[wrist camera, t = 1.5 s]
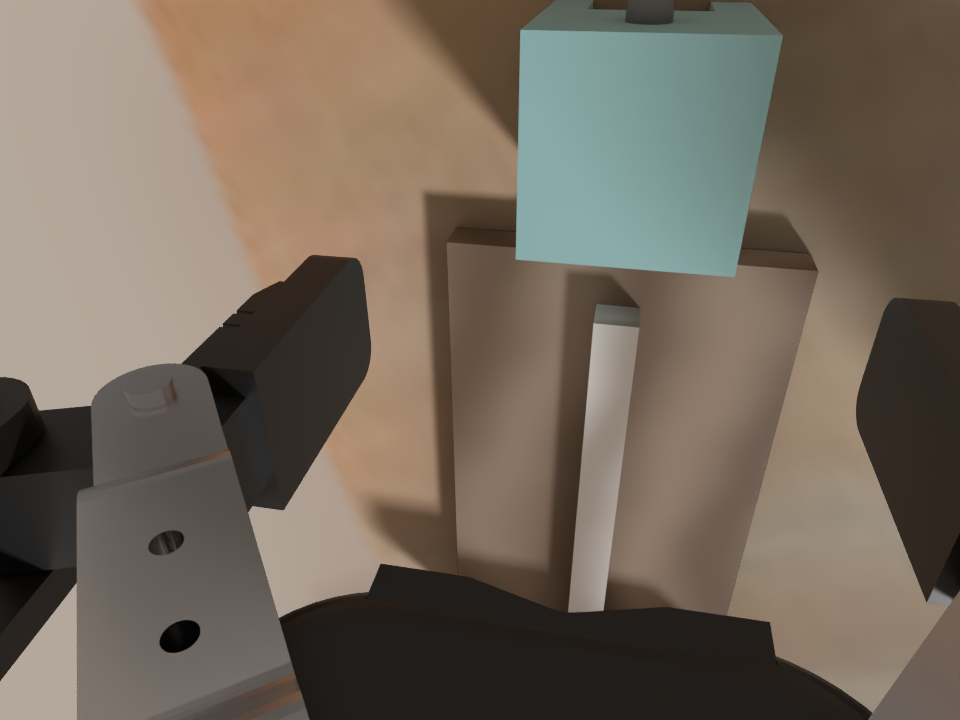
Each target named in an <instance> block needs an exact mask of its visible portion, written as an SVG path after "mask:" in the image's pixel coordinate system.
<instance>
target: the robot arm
mask: <svg viewBox="0 0 960 720" xmlns="http://www.w3.org/2000/svg"><path fill="white" fill-rule="evenodd" d="M370 356H371V339H370V330H369V321H368V312H367V303H366V294H365V285H364V276H363V270H362V266H361V264H360V262H359V260H358V259H356V258H348V257H334V256H320V255H311V256H309V257H308V258H307V259H306V260H305V261H304V262H303V263H302V264H301V265H300V266H299V267H298V268H297V269H296V270H295V271H294V272H293V273H292V274H291V275H290V276H289V277H288V278H287V279H286V280H285V281H284V282H282V281H279V282H277V283H275V284H273V285H271V286H269V287H267V288H265V289H263V290H261V291H259V292H257V293H255V294H254V295H252V296H251V297H250V298H249V299H248V300H247V301H246V302H245V303H244V304H243V305H242V306H241V307H240V308H239V309H238V310H237V314H233V315H231V316H230V317H229V318H228V320H226V321H225V322H224V323H223V327H219V328H218V329H217V330H216V331H215V332H214V333H213V334H212V335H211V336H210V337H209V338H208V339H207V340H206V341H205V342H203V344H202V345H200V346H199V347H198V348H197V349H196V350H195V351H194V352H193V353H192V354H191V355H190V356H189V357H188V358H187V359H186V360H185V361H184V362H183V363H182V364H160V365H152V366H147V367H143V368H140V369H136V370H134V371H131V372H128V373H126V374H124V375H121V376H119V377H117V378H116V379H114V380H112V381H110V382H109V383H108V384H106V385H105V386H104V387H102V388H101V389H100V390H99V391H98V393H97V394H96V395H95V396H94V399H93V401H92V405H91V406H85V407H75V408H64V409H53V410H43V411H39V410H38V408H37V405H36V403H35V400H34V398H33V396H32V393H31V391H30V389H29V386H28V385H27V384H26V383H24V382H22V381H21V380H17V379H14V378H7V377H0V681H1V679H2V678H3V677H4V675H5V674H6V673H7V671H8V670H9V669H10V668H11V666H12V665H13V664H14V663H15V661H16V660H17V659H18V657H19V656H20V655H21V654H22V652H23V651H24V650H25V648H26V647H27V646H28V645H29V643H30V642H31V641H32V639H33V638H34V636H36V634H37V633H38V632H39V630H40V629H41V628H42V627H43V625H44V624H45V623H46V621H47V620H48V619H49V618H50V616H51V615H52V614H53V612H54V611H55V610H56V609H57V607H58V606H59V605H60V603H61V602H62V601H63V600H64V598H65V597H66V596H67V594H68V593H69V592H70V591H71V589H72V588H73V587H74V585H75V584H76V583H77V720H960V307H959V306H958V305H957V304H956V303H954V302H947V301H933V300H919V299H905V298H894V299H892V300H891V301H890V302H889V304H888V305H887V307H886V309H885V311H884V313H883V316H882V319H881V322H880V325H879V328H878V331H877V335H876V338H875V341H874V344H873V347H872V350H871V353H870V356H869V360H868V363H867V366H866V369H865V372H864V375H863V378H862V381H861V385H860V388H859V392H858V396H857V404H856V420H857V426H858V430H859V433H860V436H861V438H862V441H863V443H864V446H865V448H866V451H867V453H868V456H869V458H870V461H871V463H872V466H873V468H874V471H875V473H876V476H877V478H878V481H879V484H880V486H881V489H882V491H883V494H884V496H885V499H886V501H887V504H888V506H889V509H890V511H891V514H892V516H893V519H894V521H895V524H896V526H897V529H898V532H899V534H900V537H901V539H902V542H903V544H904V547H905V549H906V552H907V554H908V557H909V559H910V562H911V564H912V567H913V569H914V572H915V574H916V577H917V579H918V582H919V585H920V587H921V590H922V592H923V595H924V597H925V600H926V602H927V603H932V604H939V605H946V606H948V608H947V609H946V611H945V612H944V613H943V615H942V616H941V618H940V619H939V621H938V622H937V623H936V625H935V626H934V628H933V629H932V630H931V632H930V633H929V635H928V636H927V637H926V639H925V640H924V642H923V643H922V644H921V646H920V647H919V649H918V650H917V651H916V653H915V654H914V656H913V657H912V659H911V660H910V661H909V663H908V664H907V666H906V667H905V668H904V670H903V671H902V673H901V674H900V675H899V677H898V678H897V680H896V681H895V682H894V684H893V685H892V687H891V688H890V690H889V691H888V692H887V694H886V695H885V697H884V698H883V699H882V701H881V702H880V704H879V705H878V706H877V708H876V709H875V711H874V712H873V713H872V712H871V711H869V710H868V709H867V708H866V707H865V706H863V705H862V704H860V703H859V702H858V701H856V700H855V699H853V698H852V697H851V696H849V695H848V694H846V693H845V692H844V691H842V690H841V689H839V688H838V687H836V686H834V685H833V684H831V683H829V682H828V681H826V680H824V679H822V678H821V677H819V676H817V675H816V674H814V673H812V672H810V671H808V670H806V669H804V668H801V667H799V666H797V665H795V664H793V663H791V662H789V661H786V660H784V659H781V658H779V657H776V656H775V650H774V644H773V638H772V632H771V626H770V622H765V621H758V620H751V619H745V618H738V617H731V616H725V615H718V614H712V613H705V612H698V611H692V610H685V609H678V608H672V607H656V608H640V609H623V610H607V611H590V612H561V611H557V610H554V609H551V608H549V607H546V606H543V605H541V604H538V603H536V602H533V601H530V600H528V599H525V598H523V597H520V596H517V595H515V594H512V593H510V592H507V591H504V590H502V589H499V588H497V587H494V586H491V585H489V584H486V583H484V582H481V581H478V580H476V579H473V578H471V577H465V576H459V575H452V574H446V573H439V572H432V571H426V570H419V569H412V568H406V567H399V566H392V565H386V564H380V567H379V569H378V571H377V574H376V576H375V579H374V581H373V584H372V586H371V588H370V591H369V592H366V593H356V594H349V595H344V596H338V597H334V598H330V599H326V600H323V601H319V602H316V603H313V604H310V605H307V606H305V607H302V608H300V609H297V610H294V611H292V612H290V613H288V614H286V615H284V616H282V617H280V618H278V614H277V611H276V608H275V604H274V601H273V597H272V594H271V590H270V587H269V584H268V580H267V577H266V573H265V570H264V566H263V563H262V560H261V556H260V553H259V550H258V546H257V542H256V539H255V535H254V532H253V529H252V525H251V522H250V518H249V515H248V512H249V510H250V509H251V507H252V506H256V507H263V508H271V509H278V510H284V509H285V507H286V505H287V504H288V502H289V501H290V499H291V497H292V496H293V494H294V492H295V491H296V489H297V488H298V486H299V484H300V483H301V481H302V480H303V478H304V476H305V474H306V473H307V471H308V470H309V468H310V466H311V465H312V463H313V462H314V460H315V458H316V457H317V455H318V453H319V452H320V450H321V449H322V447H323V445H324V444H325V442H326V440H327V439H328V437H329V436H330V434H331V432H332V431H333V429H334V427H335V426H336V424H337V423H338V421H339V419H340V418H341V416H342V414H343V413H344V411H345V410H346V408H347V406H348V405H349V403H350V401H351V400H352V398H353V397H354V395H355V393H356V392H357V390H358V388H359V387H360V385H361V383H362V382H363V380H364V378H365V377H366V374H367V371H368V368H369V363H370Z"/></svg>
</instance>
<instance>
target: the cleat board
mask: <svg viewBox="0 0 960 720" xmlns="http://www.w3.org/2000/svg"><path fill="white" fill-rule="evenodd" d="M447 267H448V296H449V325H450V354H451V383H452V412H453V441H454V470H455V499H456V528H457V557H458V575H459V576H465V577H471V578H473V579H476V580H478V581H481V582H484V583H486V584H489V585H491V586H494V587H497V588H499V589H502V590H504V591H507V592H510V593H512V594H515V595H517V596H520V597H523V598H525V599H528V600H530V601H533V602H536V603H538V604H541V605H543V606H546V607H549V608H551V609H554V610H557V611H561V612H590V611H607V610H623V609H640V608H656V607H672V608H678V609H685V610H692V611H698V612H705V613H712V614H718V615H725V616H726V615H727V612H728V608H729V604H730V600H731V597H732V593H733V589H734V585H735V582H736V578H737V574H738V570H739V567H740V563H741V559H742V555H743V552H744V548H745V544H746V540H747V537H748V533H749V529H750V525H751V522H752V518H753V514H754V510H755V507H756V503H757V499H758V495H759V492H760V488H761V484H762V480H763V477H764V473H765V469H766V465H767V462H768V458H769V454H770V450H771V447H772V443H773V439H774V435H775V432H776V428H777V424H778V420H779V417H780V413H781V409H782V405H783V401H784V398H785V394H786V390H787V386H788V383H789V379H790V375H791V371H792V368H793V364H794V360H795V356H796V353H797V349H798V345H799V341H800V338H801V334H802V330H803V326H804V323H805V319H806V315H807V311H808V308H809V304H810V300H811V296H812V293H813V289H814V285H815V281H816V278H817V274H818V270H817V267H816V265H815V263H814V260H813V258H812V256H811V254H808V253H795V252H781V251H768V250H754V249H740V254H739V259H738V264H737V269H736V274H735V277H725V276H712V275H700V274H688V273H675V272H663V271H651V270H638V269H626V268H614V267H601V266H589V265H577V264H564V263H552V262H539V261H527V260H516V232H510V231H497V230H483V229H470V228H456V229H455V230H454V232H453V233H452V235H451V236H450V238H449V239H448V241H447Z"/></svg>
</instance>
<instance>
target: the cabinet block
mask: <svg viewBox="0 0 960 720" xmlns="http://www.w3.org/2000/svg"><path fill="white" fill-rule="evenodd" d="M593 1H594V0H555V1H554V2H553V3H551V4H550V5H549V6H548V7H547V8H546V9H544V10H543V11H542V12H541V13H540V14H539V15H537V16H536V17H535V18H534V19H533V20H531V21H530V22H529V23H528V24H527V25H526V26H524V27H523V28H522V29H521V30H520V74H519V123H518V171H517V220H516V260H527V261H539V262H552V263H564V264H577V265H589V266H601V267H614V268H626V269H638V270H651V271H663V272H675V273H688V274H700V275H712V276H725V277H735V274H736V269H737V264H738V259H739V254H740V249H741V244H742V239H743V234H744V229H745V224H746V219H747V214H748V209H749V204H750V199H751V194H752V189H753V184H754V179H755V174H756V169H757V164H758V159H759V154H760V149H761V144H762V139H763V134H764V129H765V124H766V119H767V114H768V109H769V104H770V99H771V94H772V89H773V84H774V79H775V74H776V69H777V64H778V59H779V54H780V49H781V44H782V39H783V35H782V34H781V33H780V32H779V31H778V30H777V29H776V28H775V27H774V26H773V25H772V24H771V22H770V21H769V20H768V19H767V18H766V17H765V16H764V15H763V14H762V13H761V12H760V11H759V10H758V9H757V8H756V7H755V6H754V5H753V4H752V3H751V2H710V9H709V11H674V9H675V0H627V5H626V10H604V9H593Z"/></svg>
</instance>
